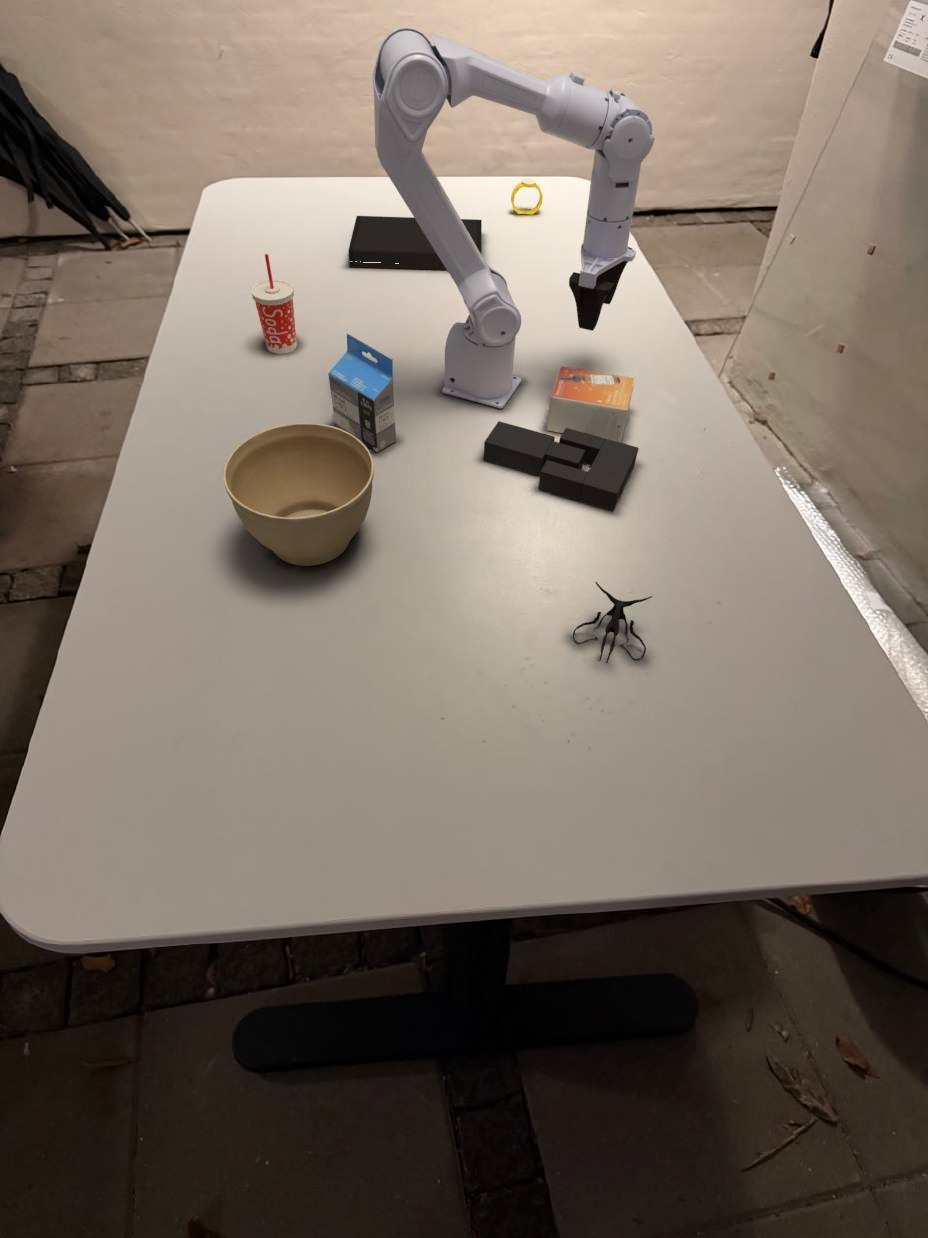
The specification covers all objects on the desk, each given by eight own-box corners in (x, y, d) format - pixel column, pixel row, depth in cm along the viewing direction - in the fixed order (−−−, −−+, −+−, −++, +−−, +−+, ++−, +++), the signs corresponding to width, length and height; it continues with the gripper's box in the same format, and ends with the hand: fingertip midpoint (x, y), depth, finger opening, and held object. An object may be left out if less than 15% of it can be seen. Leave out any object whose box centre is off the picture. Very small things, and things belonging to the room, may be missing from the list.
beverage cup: (254, 351, 118) (235, 259, 108) (275, 331, 122) (259, 241, 111) (289, 360, 117) (274, 268, 106) (309, 340, 121) (296, 249, 110)
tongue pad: (483, 460, 103) (484, 441, 100) (497, 439, 106) (498, 420, 103) (572, 486, 100) (575, 467, 97) (584, 463, 103) (587, 445, 100)
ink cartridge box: (332, 425, 107) (322, 343, 97) (354, 413, 109) (345, 332, 99) (377, 453, 103) (370, 371, 93) (398, 441, 105) (394, 359, 95)
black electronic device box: (358, 231, 145) (356, 214, 143) (481, 235, 146) (481, 218, 143) (349, 267, 136) (348, 250, 134) (481, 271, 136) (481, 254, 134)
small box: (629, 410, 101) (550, 396, 103) (621, 444, 106) (545, 431, 107) (635, 376, 106) (560, 364, 108) (627, 411, 111) (555, 398, 112)
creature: (638, 679, 81) (654, 615, 85) (646, 658, 77) (663, 591, 80) (565, 659, 83) (584, 597, 86) (569, 636, 78) (589, 572, 82)
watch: (511, 216, 151) (513, 183, 147) (509, 210, 153) (511, 178, 148) (541, 216, 152) (544, 183, 147) (539, 210, 154) (542, 177, 149)
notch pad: (538, 489, 99) (540, 471, 97) (563, 445, 105) (565, 427, 103) (613, 511, 97) (617, 493, 94) (634, 465, 103) (638, 447, 100)
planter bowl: (268, 607, 85) (249, 536, 77) (225, 517, 94) (205, 445, 86) (401, 561, 90) (397, 489, 82) (349, 480, 99) (340, 408, 91)
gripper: (624, 242, 92) (607, 346, 102) (655, 195, 100) (637, 296, 111) (568, 231, 93) (557, 335, 104) (603, 186, 102) (589, 286, 112)
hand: (595, 314), depth 107 cm, fingers open, 7 cm apart
